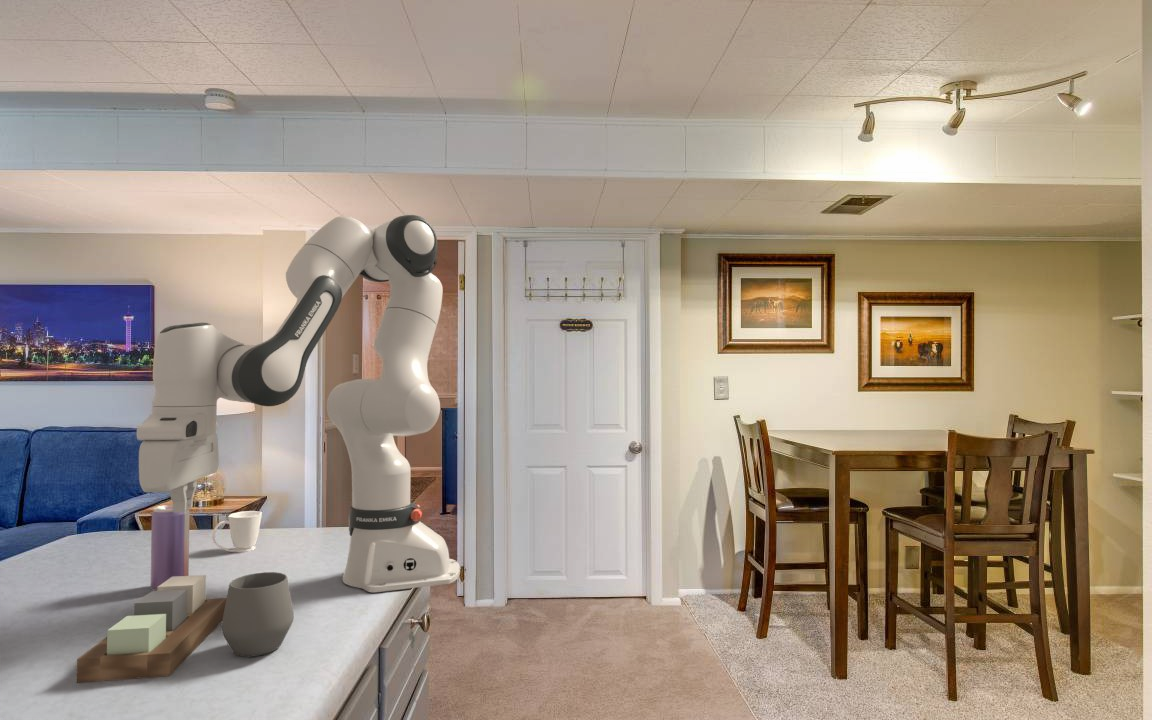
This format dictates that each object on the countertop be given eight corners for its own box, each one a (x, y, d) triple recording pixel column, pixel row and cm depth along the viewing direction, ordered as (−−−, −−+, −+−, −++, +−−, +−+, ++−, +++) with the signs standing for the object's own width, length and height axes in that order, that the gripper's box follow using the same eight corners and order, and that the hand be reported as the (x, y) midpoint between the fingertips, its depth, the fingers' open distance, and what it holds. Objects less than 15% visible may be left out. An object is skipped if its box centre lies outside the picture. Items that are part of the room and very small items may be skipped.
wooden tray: (227, 615, 105) (227, 597, 105) (169, 675, 84) (169, 653, 84) (153, 620, 103) (154, 601, 103) (76, 682, 82) (76, 659, 82)
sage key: (165, 645, 90) (166, 613, 90) (148, 660, 85) (148, 627, 85) (126, 647, 89) (127, 616, 89) (106, 663, 84) (107, 630, 84)
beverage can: (170, 594, 115) (171, 511, 115) (142, 591, 116) (143, 509, 116) (196, 583, 121) (197, 504, 121) (169, 581, 122) (170, 503, 122)
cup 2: (217, 668, 87) (218, 594, 87) (224, 641, 95) (225, 574, 95) (293, 656, 90) (294, 585, 90) (293, 631, 99) (294, 567, 99)
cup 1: (265, 550, 143) (266, 514, 144) (215, 558, 137) (216, 521, 137) (257, 543, 149) (258, 509, 149) (209, 551, 142) (209, 515, 142)
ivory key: (205, 602, 104) (205, 575, 104) (192, 613, 99) (192, 585, 99) (171, 603, 103) (172, 576, 103) (157, 615, 98) (157, 586, 98)
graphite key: (186, 618, 97) (187, 589, 97) (172, 631, 92) (172, 601, 92) (150, 620, 96) (151, 591, 96) (133, 634, 91) (134, 603, 91)
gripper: (190, 419, 111) (188, 498, 110) (130, 429, 91) (127, 526, 90) (229, 419, 112) (227, 497, 112) (178, 429, 92) (176, 525, 91)
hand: (182, 511), depth 101 cm, fingers closed
